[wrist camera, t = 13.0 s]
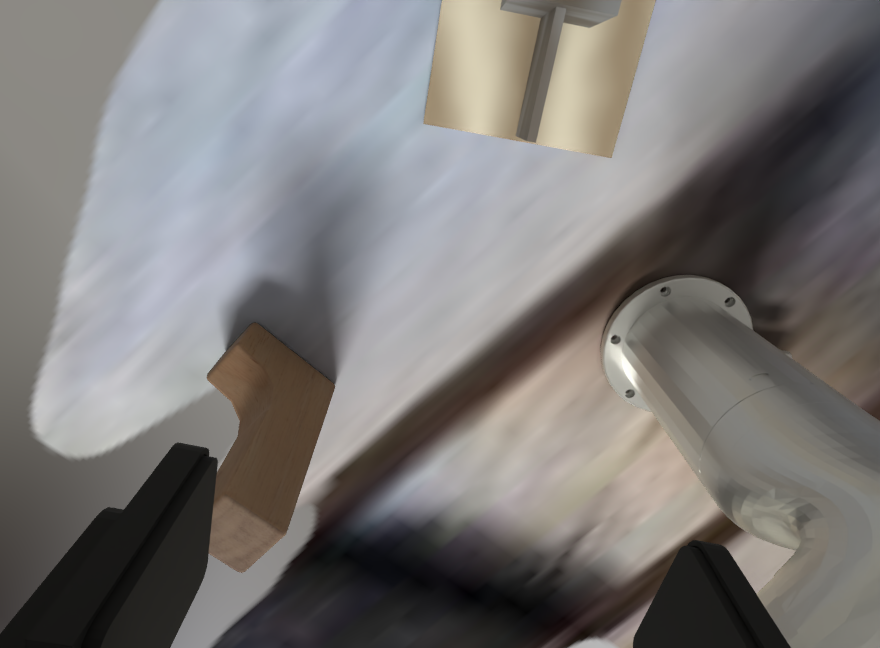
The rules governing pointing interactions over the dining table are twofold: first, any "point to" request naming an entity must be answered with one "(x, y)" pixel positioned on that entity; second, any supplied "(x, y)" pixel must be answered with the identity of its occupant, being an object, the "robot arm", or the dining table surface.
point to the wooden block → (264, 443)
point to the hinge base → (537, 69)
